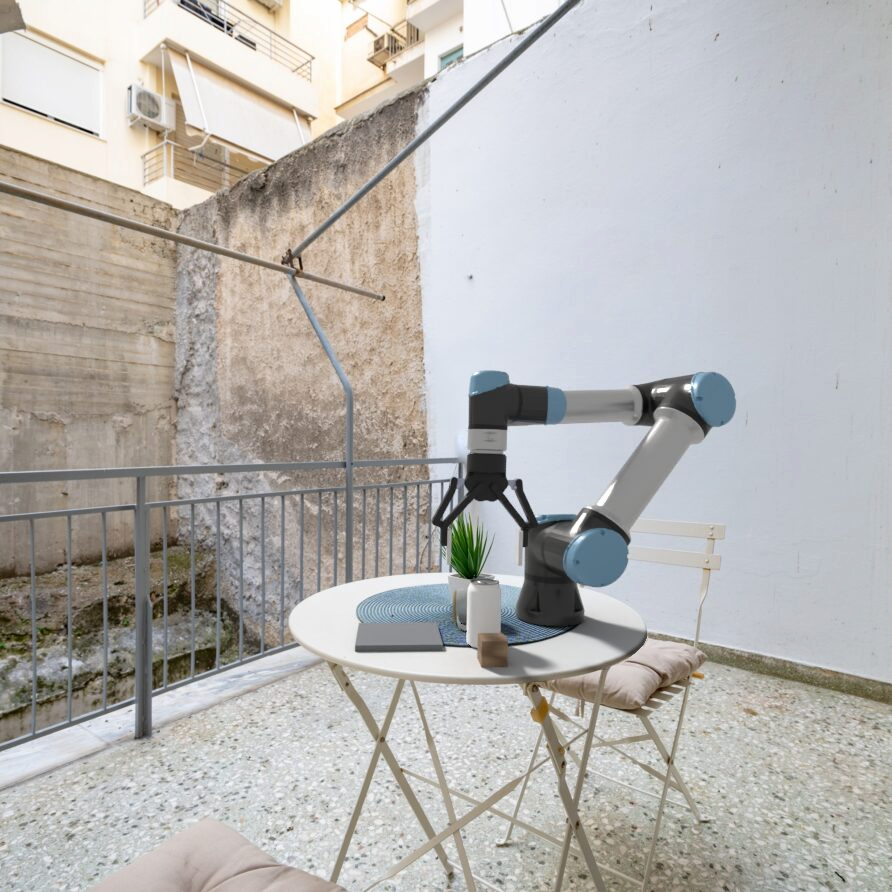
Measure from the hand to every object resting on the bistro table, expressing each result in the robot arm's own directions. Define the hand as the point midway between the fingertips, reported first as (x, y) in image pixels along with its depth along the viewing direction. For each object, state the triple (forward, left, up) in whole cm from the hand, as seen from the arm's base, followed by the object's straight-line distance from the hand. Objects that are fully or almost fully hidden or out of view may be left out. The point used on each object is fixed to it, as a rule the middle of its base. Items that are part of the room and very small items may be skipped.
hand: (483, 564), depth 111 cm
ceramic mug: (0, -12, -16) cm, 20 cm away
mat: (+16, -4, -15) cm, 22 cm away
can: (0, 0, -15) cm, 15 cm away
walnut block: (0, +9, -15) cm, 18 cm away
